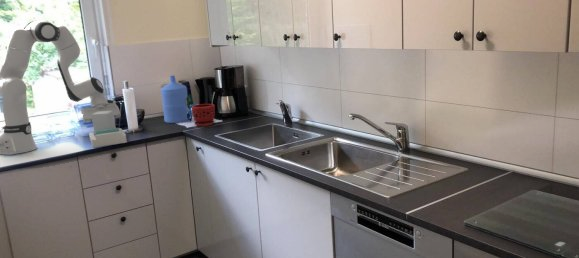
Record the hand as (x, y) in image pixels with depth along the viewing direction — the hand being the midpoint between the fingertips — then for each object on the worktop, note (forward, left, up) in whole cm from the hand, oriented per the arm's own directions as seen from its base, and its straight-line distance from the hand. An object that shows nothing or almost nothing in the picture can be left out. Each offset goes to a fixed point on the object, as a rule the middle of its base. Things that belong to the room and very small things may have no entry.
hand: (103, 125), depth 296 cm
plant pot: (+51, +23, -7) cm, 56 cm away
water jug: (+28, +37, -7) cm, 47 cm away
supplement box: (+4, -6, -7) cm, 10 cm away
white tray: (+8, -11, -6) cm, 15 cm away
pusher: (+11, -15, -6) cm, 20 cm away
